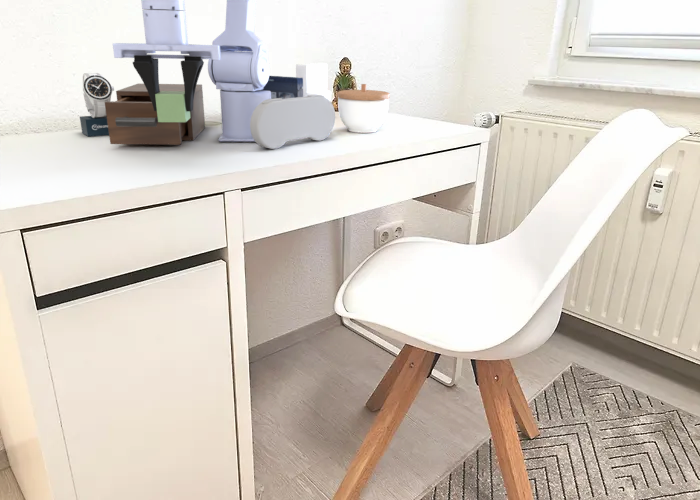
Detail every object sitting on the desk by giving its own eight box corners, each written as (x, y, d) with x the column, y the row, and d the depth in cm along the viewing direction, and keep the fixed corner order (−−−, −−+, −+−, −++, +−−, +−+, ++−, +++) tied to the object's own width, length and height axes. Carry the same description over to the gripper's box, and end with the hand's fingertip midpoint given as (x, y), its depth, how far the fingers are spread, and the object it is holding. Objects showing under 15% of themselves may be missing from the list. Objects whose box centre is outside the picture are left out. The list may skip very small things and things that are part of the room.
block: (190, 118, 84) (188, 91, 82) (186, 122, 80) (183, 94, 79) (164, 118, 83) (161, 90, 82) (157, 122, 80) (154, 93, 78)
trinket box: (328, 132, 112) (329, 84, 108) (348, 124, 121) (349, 80, 118) (378, 136, 108) (380, 87, 105) (394, 129, 117) (396, 83, 114)
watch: (90, 138, 100) (81, 75, 96) (79, 131, 106) (70, 72, 101) (122, 135, 103) (114, 74, 99) (110, 129, 109) (102, 71, 105)
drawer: (175, 150, 88) (171, 106, 85) (101, 149, 87) (95, 105, 84) (194, 130, 104) (191, 94, 102) (132, 130, 103) (127, 93, 101)
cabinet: (193, 140, 100) (189, 92, 97) (122, 140, 99) (115, 90, 96) (205, 127, 114) (202, 84, 110) (142, 126, 112) (137, 83, 109)
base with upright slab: (317, 120, 126) (317, 65, 121) (285, 117, 130) (284, 63, 125) (337, 116, 133) (338, 64, 128) (307, 113, 137) (307, 62, 133)
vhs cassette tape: (228, 119, 124) (225, 73, 120) (236, 118, 127) (233, 73, 123) (297, 127, 117) (296, 78, 113) (304, 125, 119) (304, 77, 116)
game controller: (326, 136, 107) (327, 92, 104) (335, 138, 106) (336, 93, 103) (249, 150, 93) (247, 100, 90) (258, 152, 92) (256, 101, 89)
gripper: (100, 8, 72) (114, 113, 77) (213, 11, 73) (219, 114, 78) (116, 9, 78) (128, 107, 83) (219, 12, 80) (225, 108, 85)
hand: (173, 110), depth 81 cm, fingers closed on block, 4 cm apart
